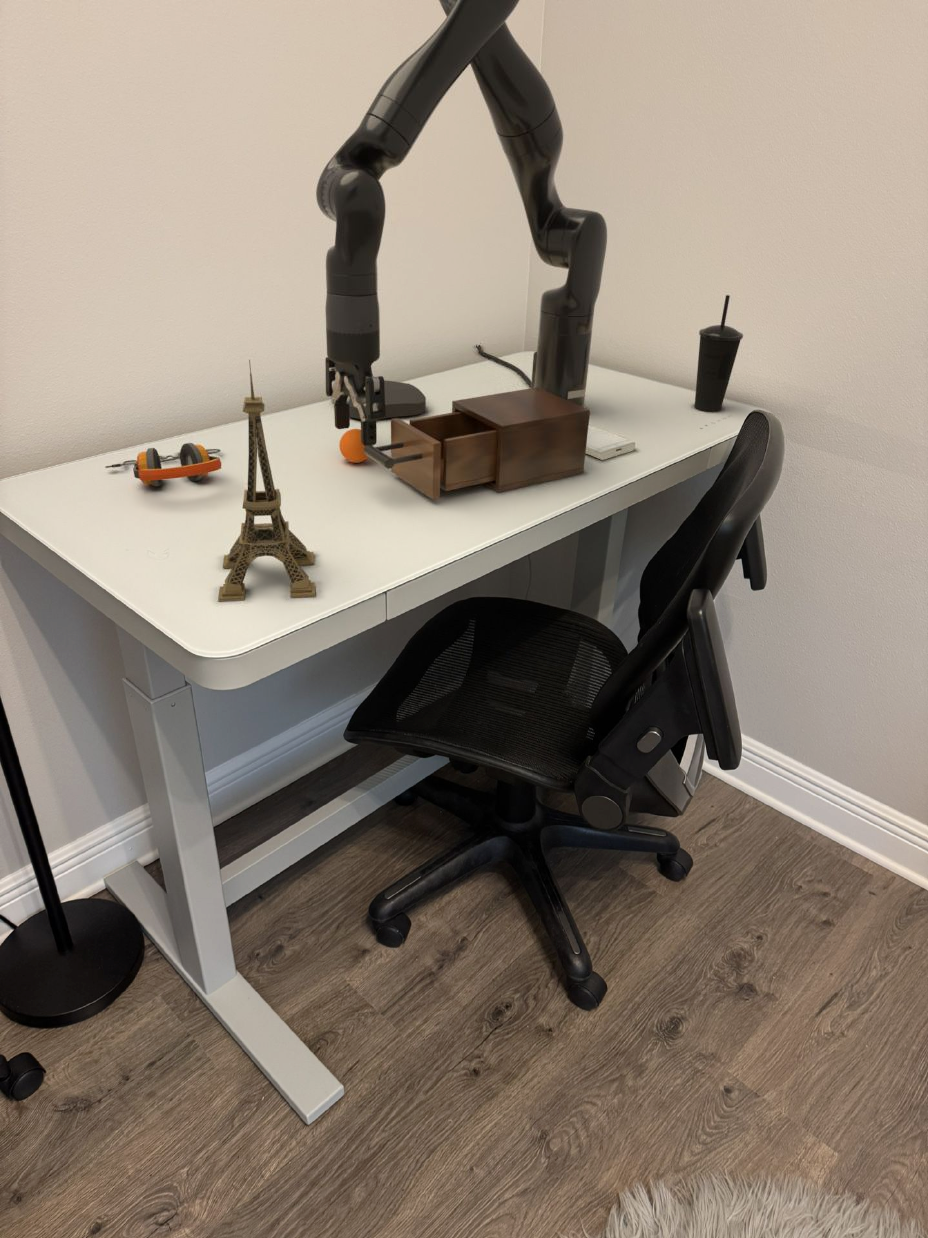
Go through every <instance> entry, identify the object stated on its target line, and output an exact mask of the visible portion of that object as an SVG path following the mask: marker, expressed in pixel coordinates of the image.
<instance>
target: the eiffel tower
mask: <svg viewBox="0 0 928 1238" xmlns="http://www.w3.org/2000/svg"><path fill="white" fill-rule="evenodd" d="M248 361H249V362H248V363H249V378H250V379H249V381H250V396H245V397H244V399H243V405H242V412H243V413H246V414H247V415H248V419H247V420H248V421H247V423H248V458H247V459H248V463H247V465H248V466H247V489H244V493H243V499H242V500H243V501H242V509H244V511H245V520H244V522H241V524H240V526H241V528H240V534H239V536H238V537H237V538H236V540H235V542H234V543H233V545H232V546H231V548H230V550H229V553H228V554H224V555H223V562H222V569H231V570H230V571H229V573H228V575H226V578H225V579H224V583H223V584H222V586H219V590H218V597H217V601H218V602H230V601H231V602H233V601H244V600H245V593H246V584H245V582H244V580H245V578H246V574H247V571H248V569H249V566H250V564H251V563H252V562H253V561H255V560H256V559H257V558H261V557H273V558H275V559H276V560H278V561H280V562H281V563H282V564H283V567H284V569H285V572H286V574H287V577H288V579H289V582H290V583H289V592H290V593H289V594H290V595H289V597H290V599H292V598H294V599H295V598H310V597H314V598H315V597H316V582H314V581H312V580H311V579H310V576H309V575H308V574H307V573H306V572H305V571H304V569H303V568H302V567H301V566H310V565H312V566H313V565H315V556H314V555H315V554H314V551H311V550H308V548H307V547H306V545H305V544H304V543H303V542H302V541H301V540H300V539H299V538H298V537H297V536H296V535H295V534H294V533H293V532H292V531H291V530H290V525H289V520H287V521H285V518H284V516H283V514H282V510H281V506H282V496H281V495H282V494H281V491H280V488H275V484H274V479H273V473H272V468H271V464H270V459H269V455H268V449H267V445H266V441H265V440H266V439H265V433H264V427H263V422H262V421H263V420H262V416H261V413H263V412H265V403H264V402H263V397H262V396H255V390H254V384H253V383H254V382H253V376H252V368H251V367H252V366H251V359H248ZM258 462H259V468H260V472H261V477H262V478H261V479H262V482H263V483H262V484H263V488H264V490H257V470H258V469H257V468H258ZM263 516H265V517H266V516H267V517H268V516H269V517H270V520H271V522H269V523H255V517H263Z"/></svg>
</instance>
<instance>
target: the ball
mask: <svg viewBox="0 0 928 1238" xmlns="http://www.w3.org/2000/svg"><path fill="white" fill-rule="evenodd" d="M372 446H373V447H374V445H372ZM364 448H365V446H364V445H363V444H362V443H361V428H352V429H348V430H347V431H345V432H344V433H343V434H342V435H341V437H340V440H339V452H340V453H341V455H342V457H343V458H344V459H345V460H346V461H348V462H351V463H355V464H356V463H357V464H358V463H362V462H365V461H366V460H367V459H369V458H370V457H369V456H367V455H366V454H365V453H364Z"/></svg>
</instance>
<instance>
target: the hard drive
mask: <svg viewBox="0 0 928 1238" xmlns="http://www.w3.org/2000/svg"><path fill="white" fill-rule="evenodd" d="M635 449H636V442H635V441H632V440H630V439H628V438H626V437H625V438H624V437H621V436H619V435H617V434H614V433H611V432H609V431H606V430H603V429H601V428H597V427H595V426H592V425H590V424H589V425H588V435H587V444H586V453H585V455H589V456H592V457H594V458H597V459H599V460H601V461H603V460H608V459H610V458H614V457H618V456H621V455H623V454H628V453H631V452H633V451H634V450H635Z"/></svg>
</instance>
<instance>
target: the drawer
mask: <svg viewBox="0 0 928 1238" xmlns="http://www.w3.org/2000/svg"><path fill="white" fill-rule="evenodd" d="M497 449H498V430H496V429H494V428H493V427H491V426H489V425H487V424H485V423H483V422H481V421H479V420H477V419H475V418H473V417H471V416H469V415H467V414H465V413H463V412H461V411H459V412H453V413H452V412H447V413H442V414H437V415H431V416H425V417H419V418H412V419H409V423H408V422H406V421H404V420H403V419H400V418H399V417H394V418H391V419H390V444H386V445H379V446H374V445H373V446H372V445H367V446H365V448H364V453H365V454H366V455H367V456H369V457H368V458H370V459H372V460H373V461H375V462H376V463H378V464H379V465H381V466H382V467H384V468H385V469H387V470H390V471H391V473H392V474H394V475H396V476H397V477H398V478H400V479H402V481H405V482H406V483H407V484H409V485H411V486H412V487H413V488H415V489H416V490H418V491H420V492H421V493H423V494H424V495H426V496H427V497H428V498H430V499H432V500H436V499H440V498H441V490H443V491H445V492H448V491H452V490H453V491H454V490H458V489H462V488H466V487H471V486H475V485H480V484H483V483H485V482H490V481H494V480H496V466H497ZM386 451H390V456H389V455H387V454H385V452H386Z"/></svg>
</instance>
